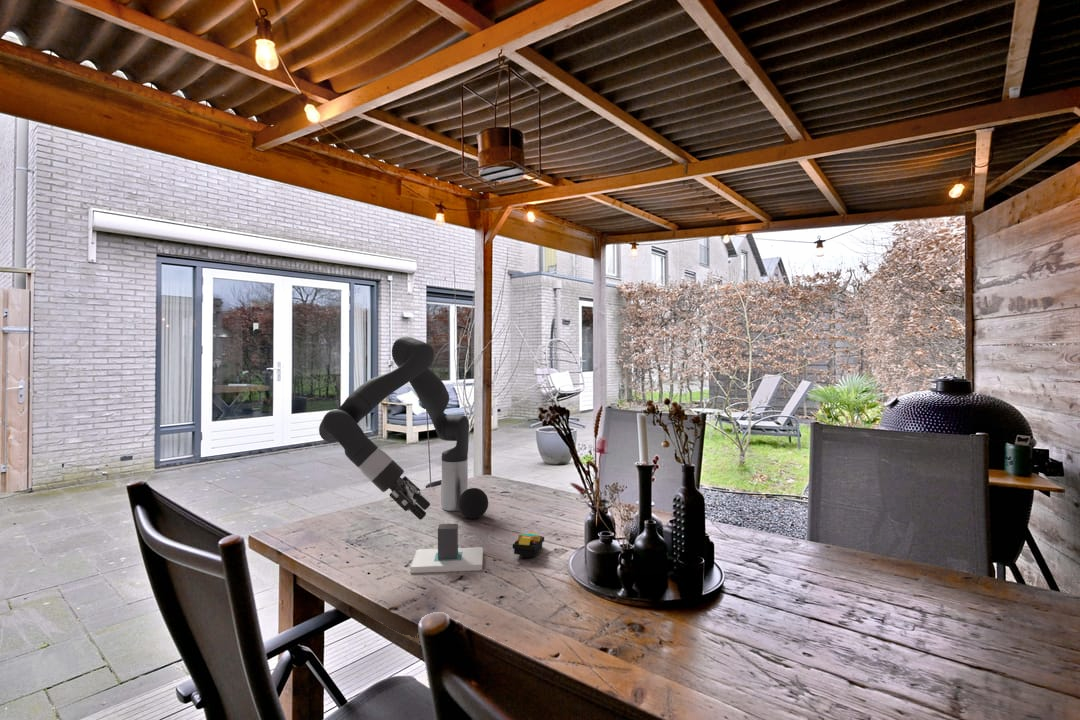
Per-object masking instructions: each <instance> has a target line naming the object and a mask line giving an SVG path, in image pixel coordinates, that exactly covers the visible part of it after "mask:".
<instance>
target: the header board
mask: <svg viewBox="0 0 1080 720" xmlns="http://www.w3.org/2000/svg"><path fill="white" fill-rule="evenodd" d="M483 559H484V547H483V546H482V547H481V546H480V547H458V555H457V559H441V560H438V548H425V549H424V548H423V549H422V548H421V549H417V550H416V552H415V555H414V557H413V559H412V562H411V565H410V568H409V569H410V572H409V573H410V574H419V573H420V574H421V573H445V572H446V573H447V572H448V573H449V572H471V571H483V561H484V560H483Z"/></svg>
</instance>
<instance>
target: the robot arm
mask: <svg viewBox="0 0 1080 720" xmlns="http://www.w3.org/2000/svg"><path fill="white" fill-rule="evenodd" d="M391 356H392V359H393V362H394V363H395V365H396V366H397V368H395V369H393V370H391V371H388V372H386V373H384V374H380V375H378V376H375V377H372V378H371V379H368V380H367V381H365V382H363V383H362V384H361V385H360V386H359V387H357V388H356V389H355V390H353V392H352V393H350V394H349V395H348V396H347V397H346V399H345V400H344V402H343V403H342V404H341V405H340V406H339V407H337V408H336V409H335V408H334V409H331V410H329V411H327V412H326V413H325V415H324V416H323V419H322V420H321V422H320V424H319V427H318V434H319V436H320V438H321V439H322V440H324V441H325V442H327V443H337V442H338V443H339V444H340V446H341V447H342V448H343V449H344V454H345V456H346V457H347V458H348V460H349V461H351V462H352V463H353V465H355V466H356V467H357V468H358V469H359V470H360V472H361V473H362V474H363V475H364V476H365V477H366V478H367V479H368V480H369V481H370V482H371V483H372V484H374V486H376V487H377V488H378V489H379V490H380V491H381V492H383V493H385V492H387V491H388V489H389V490H390V491H391V492H390V493H389V494H388V495H389V497H390V498H391V499H392V500H393V501H394V502H395V503H396V505H397V504H398V506H399V507H400V508H402V510H403V511H405V512H407V511H409V512H411V513H412V514H413V515H414V516H416V518H417V519H418V520H420V521H421V520H423V519H424V518H425V517H426V515H427V512H426V510H427V509H428V508H429V507H430V506H431V503H430V501H429V500H427V498H425V497H424V495H422V492H421V489H420V488H419V487H418V486H417V485H416V484H414V483H413V482H412V480H411V479H410V478H408V477H407V476H405V475H404V473H405V470H404V469H403V468H402V467H401V466H400V465H399V464H398V463H396V461H395V460H394V459H392V457H390V456H389V455H388V454H387V453H386V452H385V451H384V450H382V449H381V448H379V447H378V446H377V445H376V444H375V443H374V442H373V441H372V440H371V439H370V438H369V437H367V435H366V434H365V432H364V430H363V429H362V428H361V427H360V425H359V423H360V421H361V420H363V419H364V418H365V417H366V416H367V415H369V414H370V413H371V412H372V411H373V410H374V409H375V408H376V407H378V406H379V405H380V404H381V402H383V401H384V400H385V399H387V397H389V396H390V395H392V394H393V393H394V392H396V391H398V389H400V388H402V387H403V386H405V385H406V384H408V383H410V386H411V387H412V388H413V391H414V392H415V394H416V395H417V397H418V400H419V401H420V403H421V405H422V406H423V408H424V409H425V411H426V412H427V414H428V416H429V418H430V420H431V422H432V424H433V428H434V430H435V433H436V435H437V437H438V438H439V439H440V440H442V441H446V442H447V441H448V442H456V444H455V446H454V447H453V448H450V449H446V450H444V451H443V452H442V453H441V479H440V480H441V481H440V504H441V505H440V507H441V509H442V510H444V511H448V512H449V511H450V512H455V511H456V512H457V511H460V509H459V505H458V502H459V498H460V496H461V494H462V493H463V492H464V491H466V490H467V489H469V480H468V478H469V477H468V474H469V472H468V471H469V468H468V465H469V463H468V458H469V457H468V455H469V439H470V438H469V436H470V435H469V434H470V423H469V422H470V421H469V418H468V417H467V416H466V415H463V414H446V412H445V410H446V409H447V408H448V406H449V402H450V394H449V392H448V389H447V388H446V385H445V383H444V382H443V381H442V379H441V378H440V377H439V376H438V375H437V374H436V373H435V372H434V371H432V369H430V368H429V367H431V365H432V363H433V361H434V358H435V350H434V347H433V346H432V345H430V344H429V343H427V342H424V341H423V340H419V339H416V338H414V337H410V336H401V337H399V338H397V339H396V340H395V341H394V342H393V345H392V348H391ZM403 475H404V476H403ZM401 476H403V477H401Z"/></svg>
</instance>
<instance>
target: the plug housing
mask: <svg viewBox="0 0 1080 720" xmlns="http://www.w3.org/2000/svg"><path fill="white" fill-rule="evenodd" d="M458 548H459V523H439V524H438V526H437V549H438V560H441V559H457V555H458Z"/></svg>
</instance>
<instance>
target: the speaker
mask: <svg viewBox="0 0 1080 720" xmlns="http://www.w3.org/2000/svg"><path fill="white" fill-rule="evenodd" d="M458 505H459V509H460V510H459V512H460V513H461V514H462V516H464V517H465V518H467V519H470V520H471V519H472V520H473V519H478V518H481V517H482V516H483V515H485V514H486V512H487V510H488V507H489V498H488V496H487V494H486V493H485V491H483V490H482V489H480V488H478V487H470V488H468V489H467V490H466V491H464V492H463V493H462V494H461V496H460V498H459V502H458Z"/></svg>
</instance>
